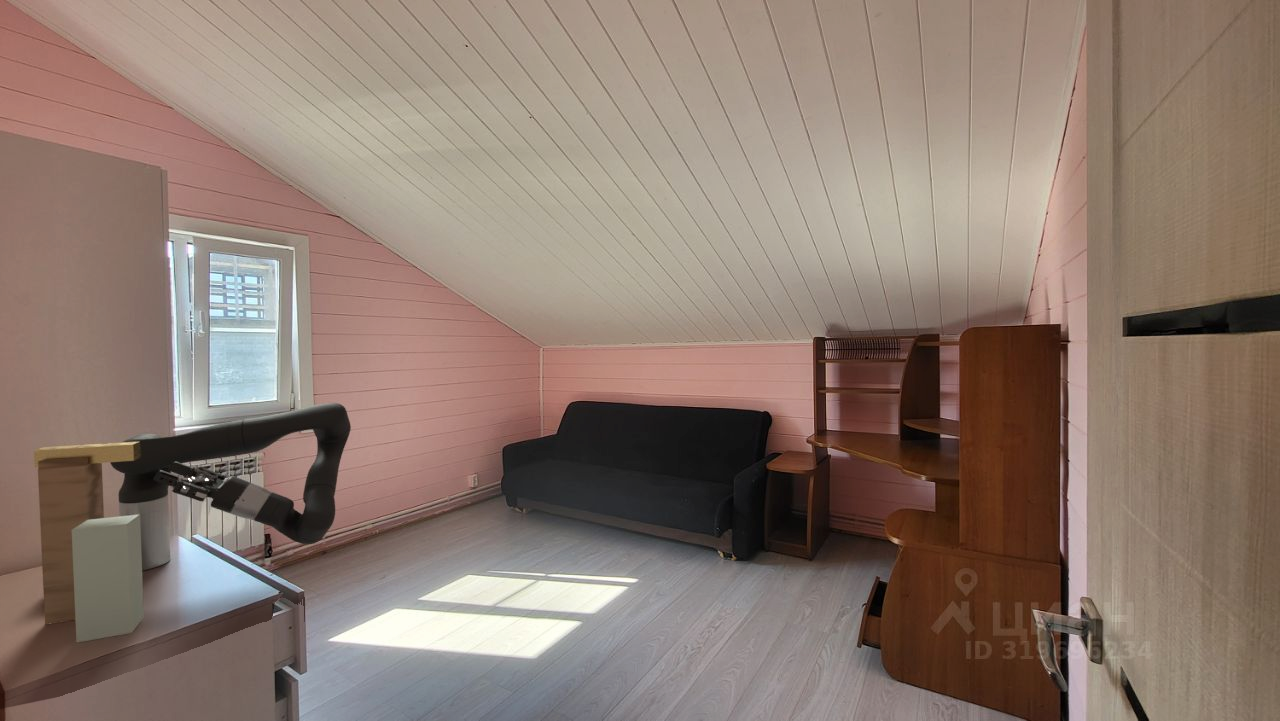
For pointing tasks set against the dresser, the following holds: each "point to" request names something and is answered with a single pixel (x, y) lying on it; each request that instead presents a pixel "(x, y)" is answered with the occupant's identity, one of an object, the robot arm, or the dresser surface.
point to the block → (107, 577)
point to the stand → (64, 526)
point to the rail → (91, 452)
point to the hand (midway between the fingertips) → (163, 469)
